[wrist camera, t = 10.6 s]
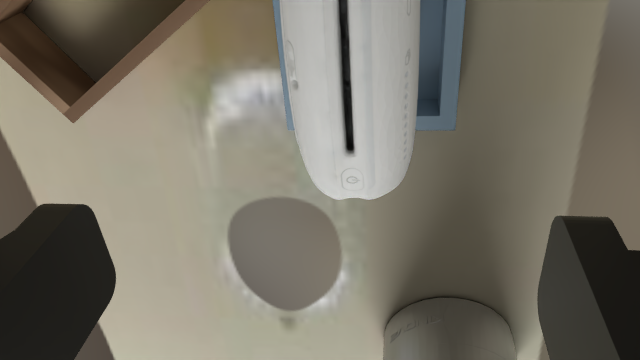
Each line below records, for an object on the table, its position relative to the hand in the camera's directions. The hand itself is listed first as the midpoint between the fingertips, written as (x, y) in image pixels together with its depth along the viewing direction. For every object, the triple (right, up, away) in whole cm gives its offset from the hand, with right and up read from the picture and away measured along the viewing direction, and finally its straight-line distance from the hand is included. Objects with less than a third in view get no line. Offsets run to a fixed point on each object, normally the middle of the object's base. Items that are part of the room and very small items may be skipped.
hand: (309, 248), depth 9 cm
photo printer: (+3, +11, +16) cm, 19 cm away
